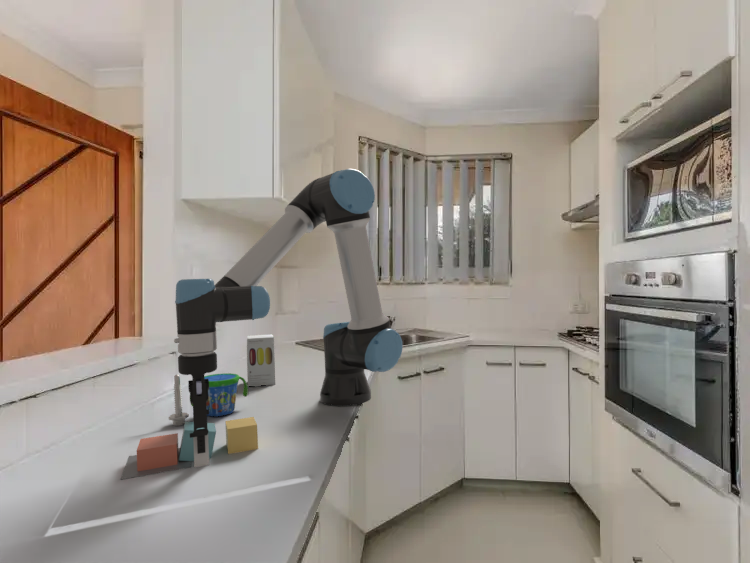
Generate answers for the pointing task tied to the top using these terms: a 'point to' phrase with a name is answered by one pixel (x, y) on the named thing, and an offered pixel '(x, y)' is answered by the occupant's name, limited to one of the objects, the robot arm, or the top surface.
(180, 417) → the screw
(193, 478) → the top surface
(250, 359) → the supplement box
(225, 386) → the snack cup
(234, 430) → the ochre brick
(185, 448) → the teal brick
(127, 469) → the base
